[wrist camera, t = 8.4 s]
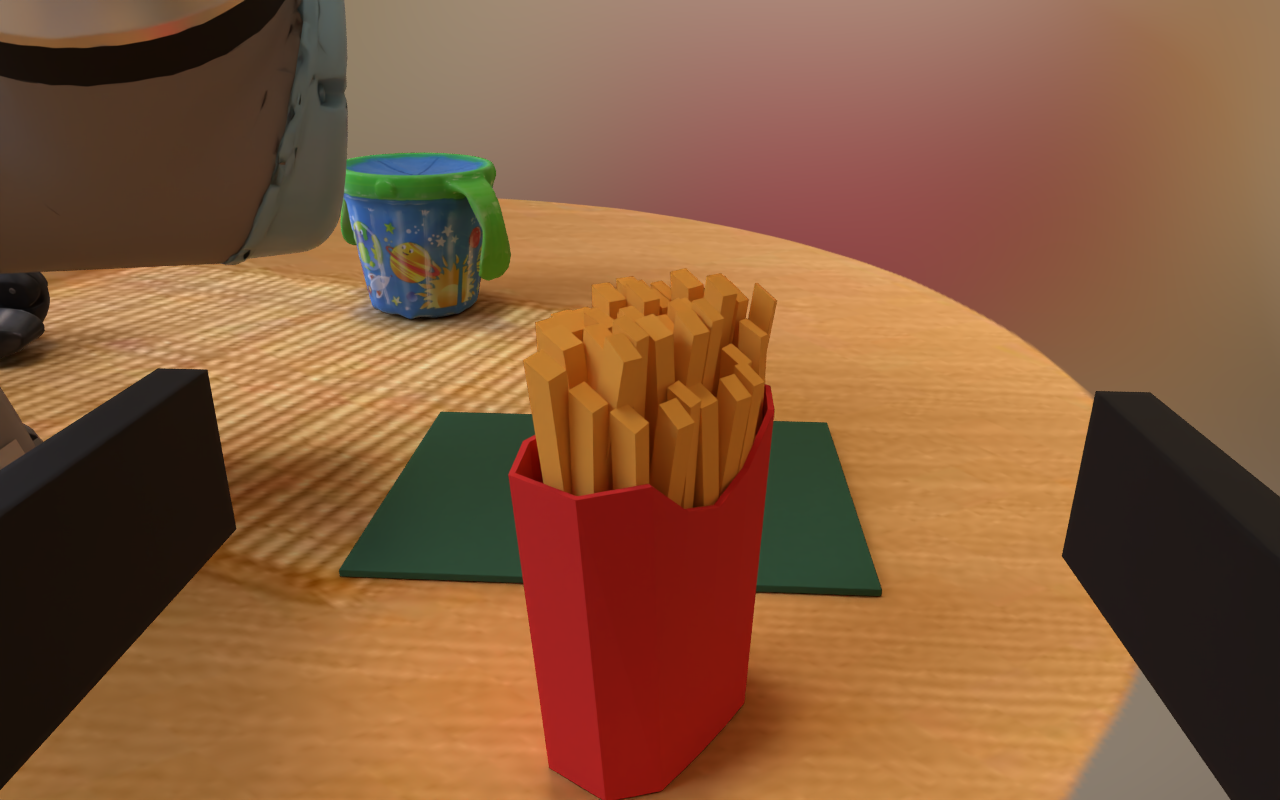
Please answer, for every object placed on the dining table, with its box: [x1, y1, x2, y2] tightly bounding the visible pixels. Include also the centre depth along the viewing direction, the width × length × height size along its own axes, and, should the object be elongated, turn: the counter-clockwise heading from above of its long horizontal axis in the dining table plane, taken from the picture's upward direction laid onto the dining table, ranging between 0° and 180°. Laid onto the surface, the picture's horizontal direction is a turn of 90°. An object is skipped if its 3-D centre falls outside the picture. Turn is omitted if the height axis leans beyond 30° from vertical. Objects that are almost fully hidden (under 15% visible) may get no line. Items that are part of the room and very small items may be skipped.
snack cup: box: [341, 153, 511, 319], centre depth 65 cm, size 16×10×10 cm
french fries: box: [508, 268, 777, 800], centre depth 25 cm, size 9×4×13 cm, turn 143°
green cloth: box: [339, 412, 882, 596], centre depth 41 cm, size 20×15×1 cm
